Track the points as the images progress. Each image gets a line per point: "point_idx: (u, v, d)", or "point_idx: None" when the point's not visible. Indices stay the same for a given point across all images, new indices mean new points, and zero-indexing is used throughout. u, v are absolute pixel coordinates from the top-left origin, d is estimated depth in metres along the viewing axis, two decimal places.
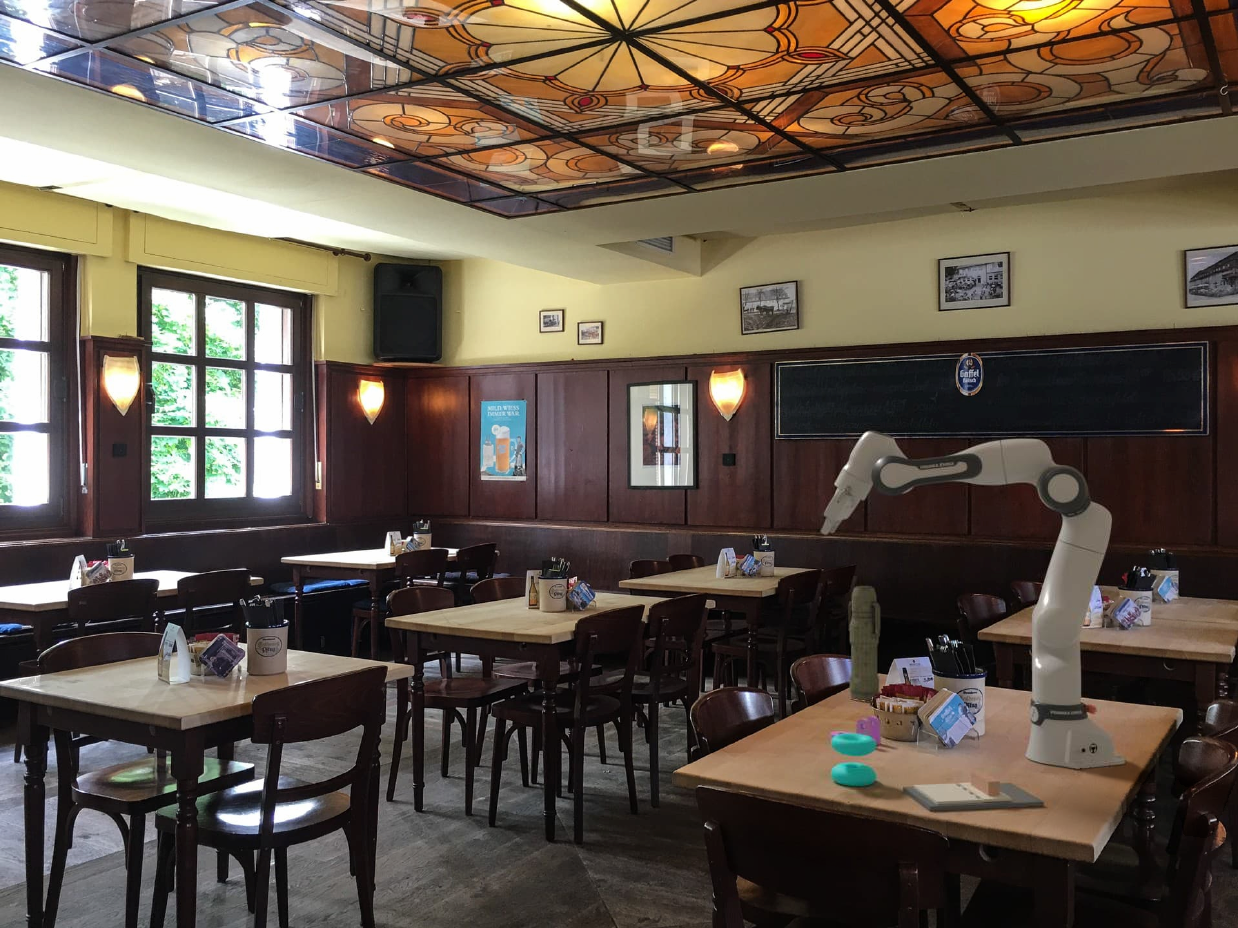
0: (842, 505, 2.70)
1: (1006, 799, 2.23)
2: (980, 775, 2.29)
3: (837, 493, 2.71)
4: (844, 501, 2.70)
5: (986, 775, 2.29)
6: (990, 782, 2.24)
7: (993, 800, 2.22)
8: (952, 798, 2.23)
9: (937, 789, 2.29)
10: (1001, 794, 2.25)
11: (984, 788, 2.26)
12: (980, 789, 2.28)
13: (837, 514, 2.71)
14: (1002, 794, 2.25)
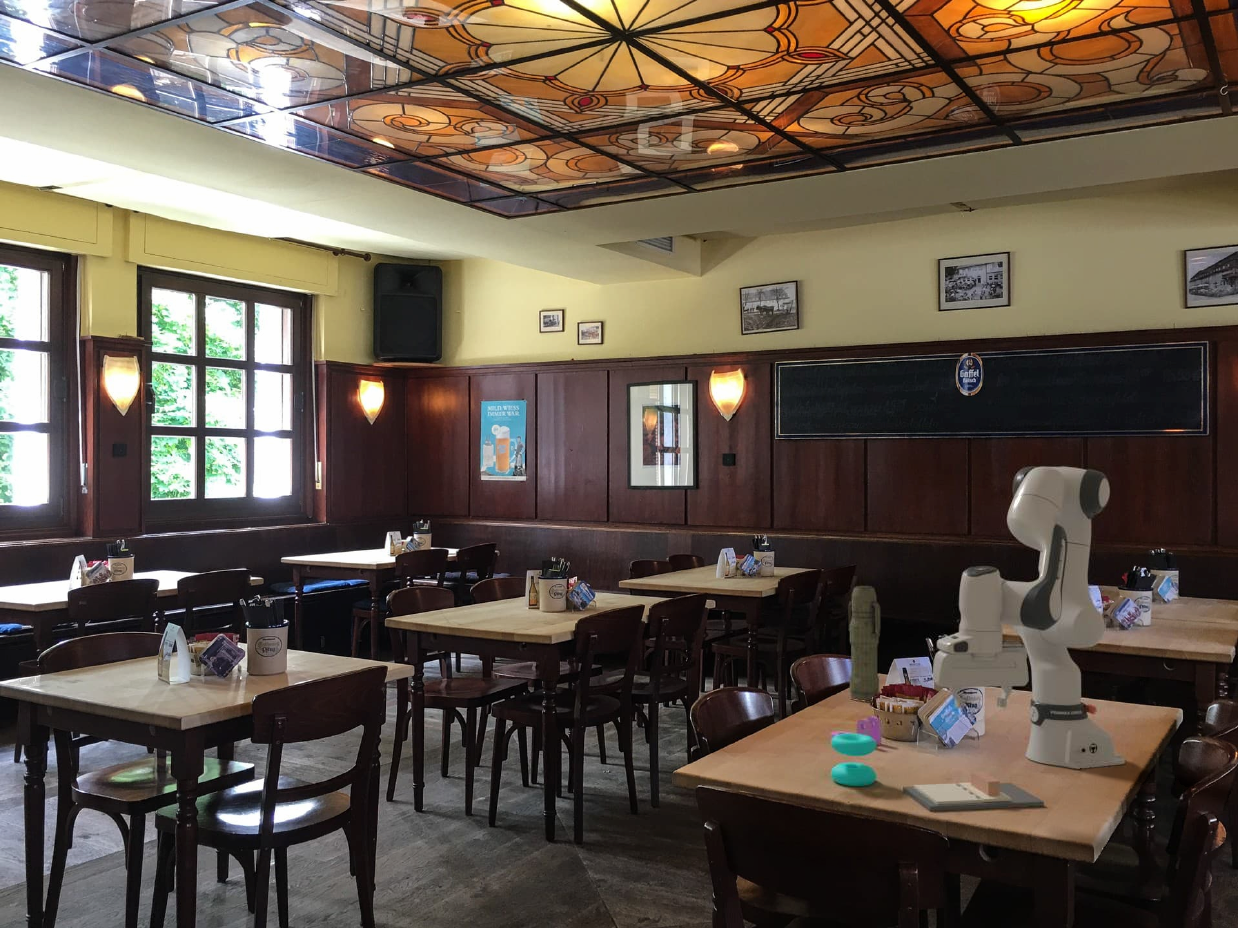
0: None
1: (1006, 799, 2.23)
2: (980, 775, 2.29)
3: (1023, 654, 2.29)
4: None
5: (986, 775, 2.29)
6: (990, 782, 2.24)
7: (993, 800, 2.22)
8: (952, 798, 2.23)
9: (937, 789, 2.29)
10: (1001, 794, 2.25)
11: (984, 788, 2.26)
12: (980, 789, 2.28)
13: None
14: (1002, 794, 2.25)
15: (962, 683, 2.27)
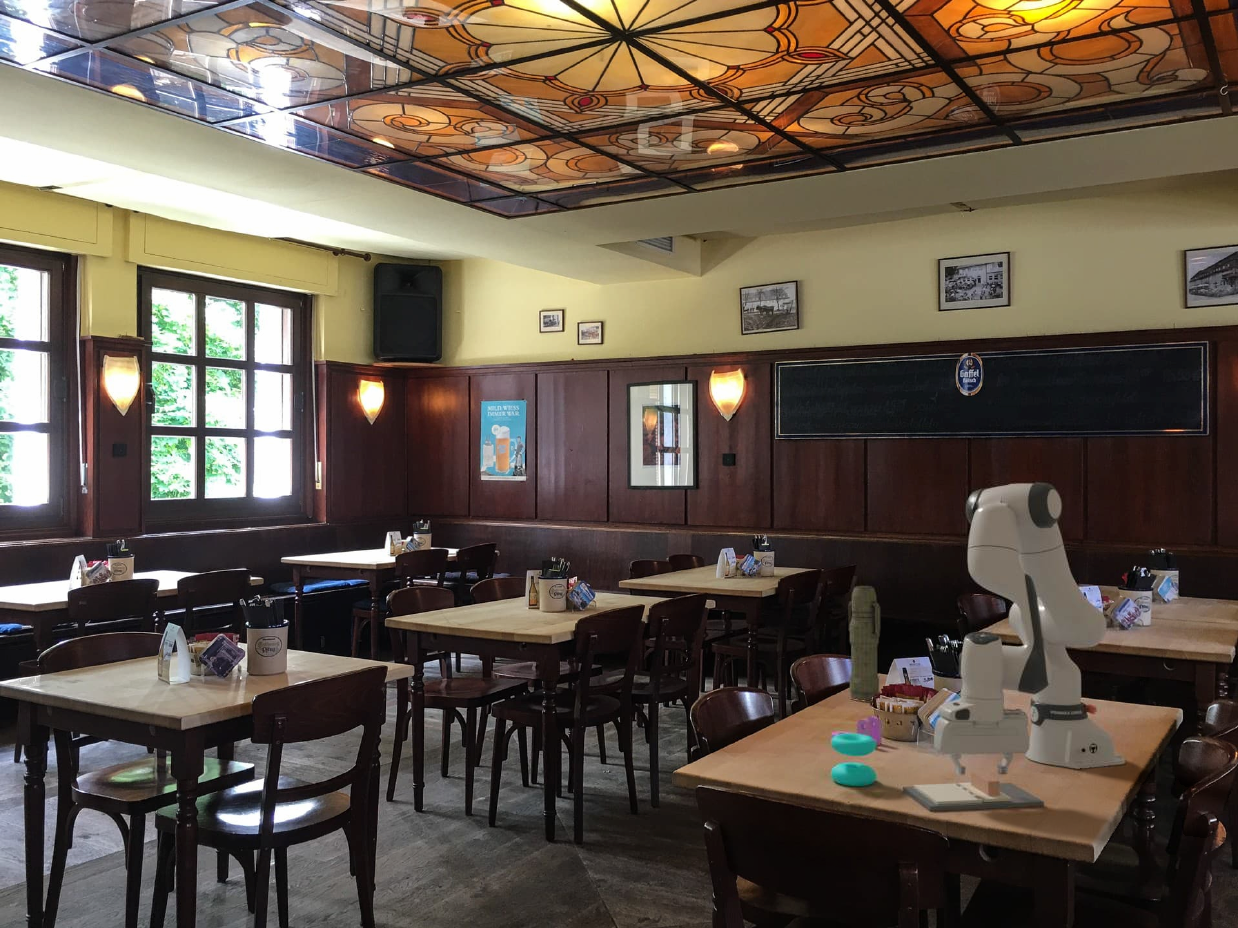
0: None
1: (1006, 799, 2.23)
2: (980, 775, 2.29)
3: (1024, 721, 2.29)
4: None
5: (986, 775, 2.29)
6: (990, 782, 2.24)
7: (993, 800, 2.22)
8: (952, 798, 2.23)
9: (937, 789, 2.29)
10: (1001, 794, 2.25)
11: (984, 788, 2.26)
12: (980, 789, 2.28)
13: None
14: (1002, 794, 2.25)
15: (963, 750, 2.26)
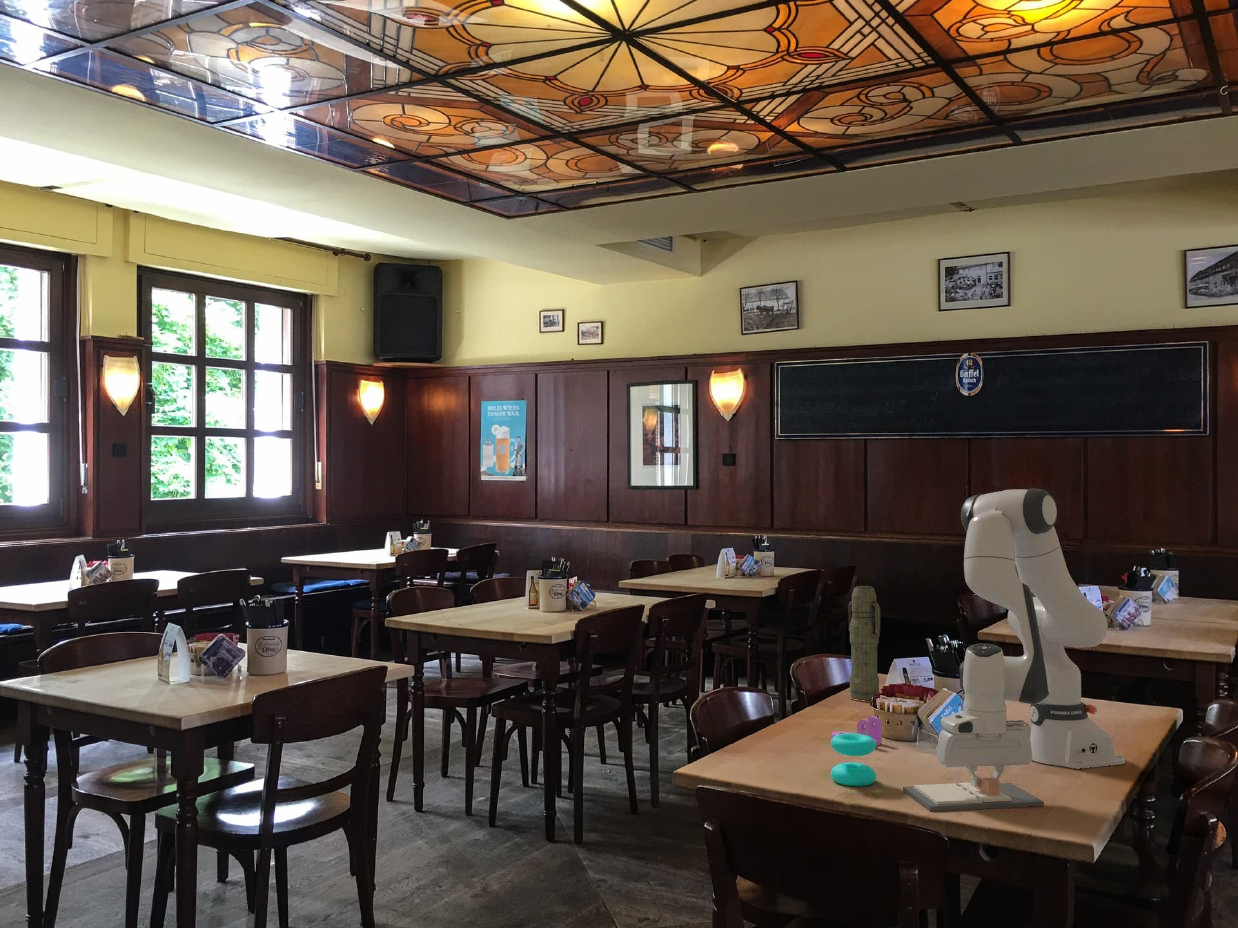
0: None
1: (1006, 799, 2.23)
2: (980, 775, 2.29)
3: (1027, 733, 2.29)
4: None
5: (986, 775, 2.29)
6: (990, 782, 2.24)
7: (993, 800, 2.22)
8: (952, 798, 2.23)
9: (937, 789, 2.29)
10: (1001, 794, 2.25)
11: (984, 788, 2.26)
12: (980, 789, 2.28)
13: None
14: (1002, 794, 2.25)
15: (967, 763, 2.26)
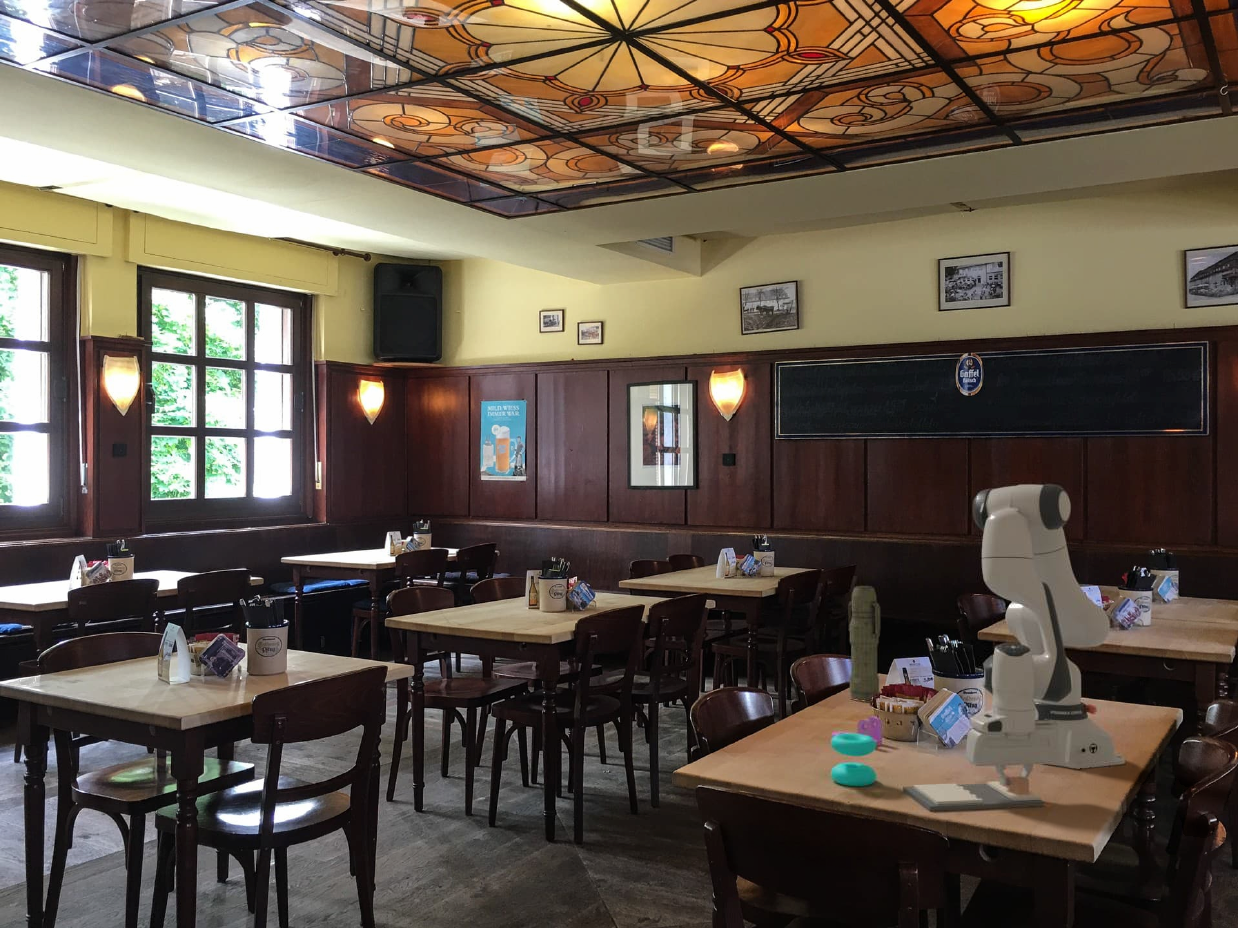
0: None
1: (1036, 798, 2.24)
2: (1009, 774, 2.30)
3: (1056, 732, 2.29)
4: None
5: (1015, 774, 2.30)
6: (1019, 781, 2.25)
7: (1023, 799, 2.23)
8: (952, 798, 2.23)
9: (937, 789, 2.29)
10: (1030, 793, 2.26)
11: (1013, 787, 2.27)
12: (1009, 788, 2.29)
13: None
14: (1031, 793, 2.26)
15: (996, 762, 2.27)
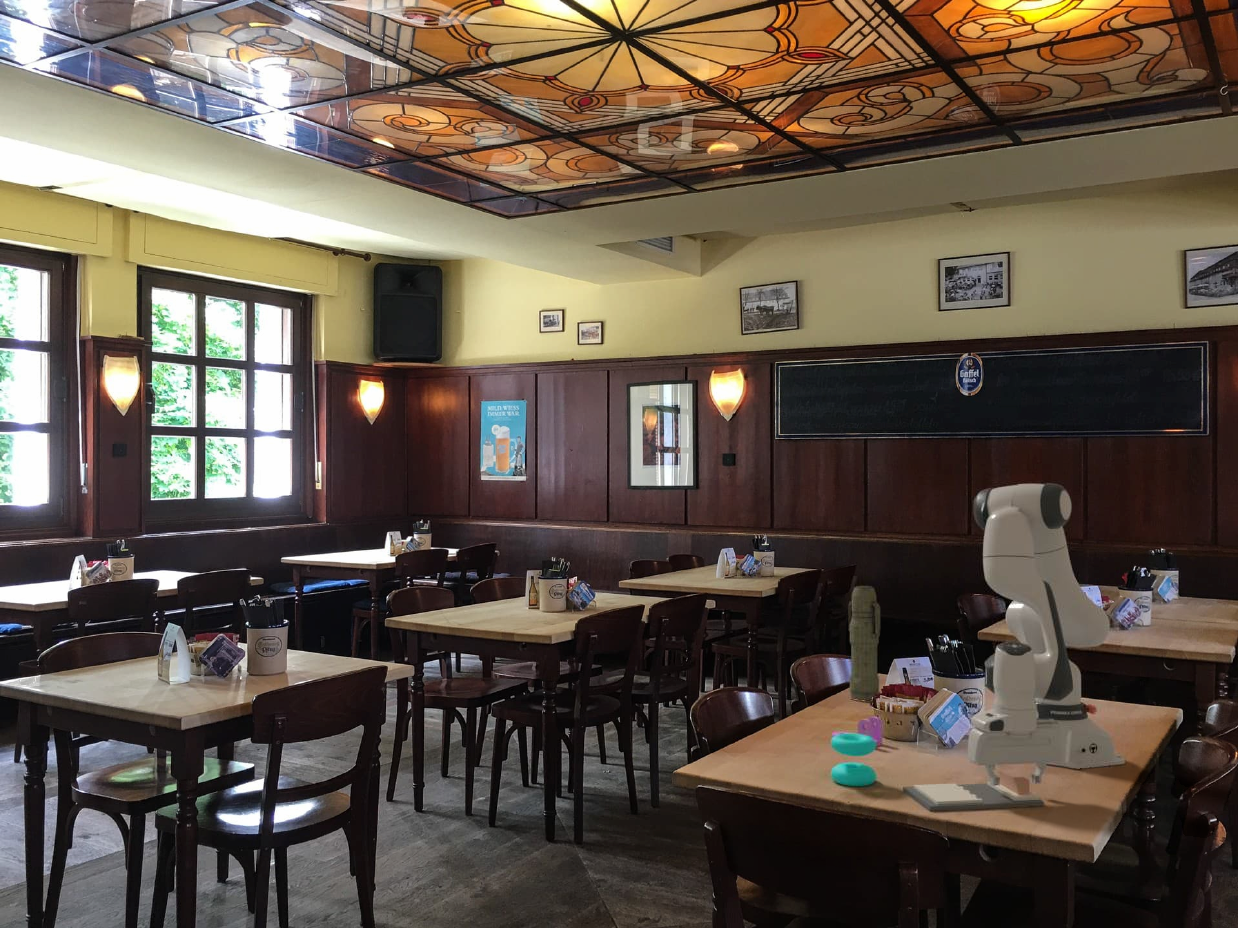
0: None
1: (1036, 798, 2.24)
2: (1009, 774, 2.30)
3: (1057, 731, 2.29)
4: None
5: (1015, 774, 2.30)
6: (1020, 781, 2.25)
7: (1023, 799, 2.23)
8: (952, 798, 2.23)
9: (937, 789, 2.29)
10: (1031, 793, 2.26)
11: (1014, 787, 2.27)
12: (1009, 788, 2.29)
13: None
14: (1032, 793, 2.26)
15: (997, 761, 2.27)
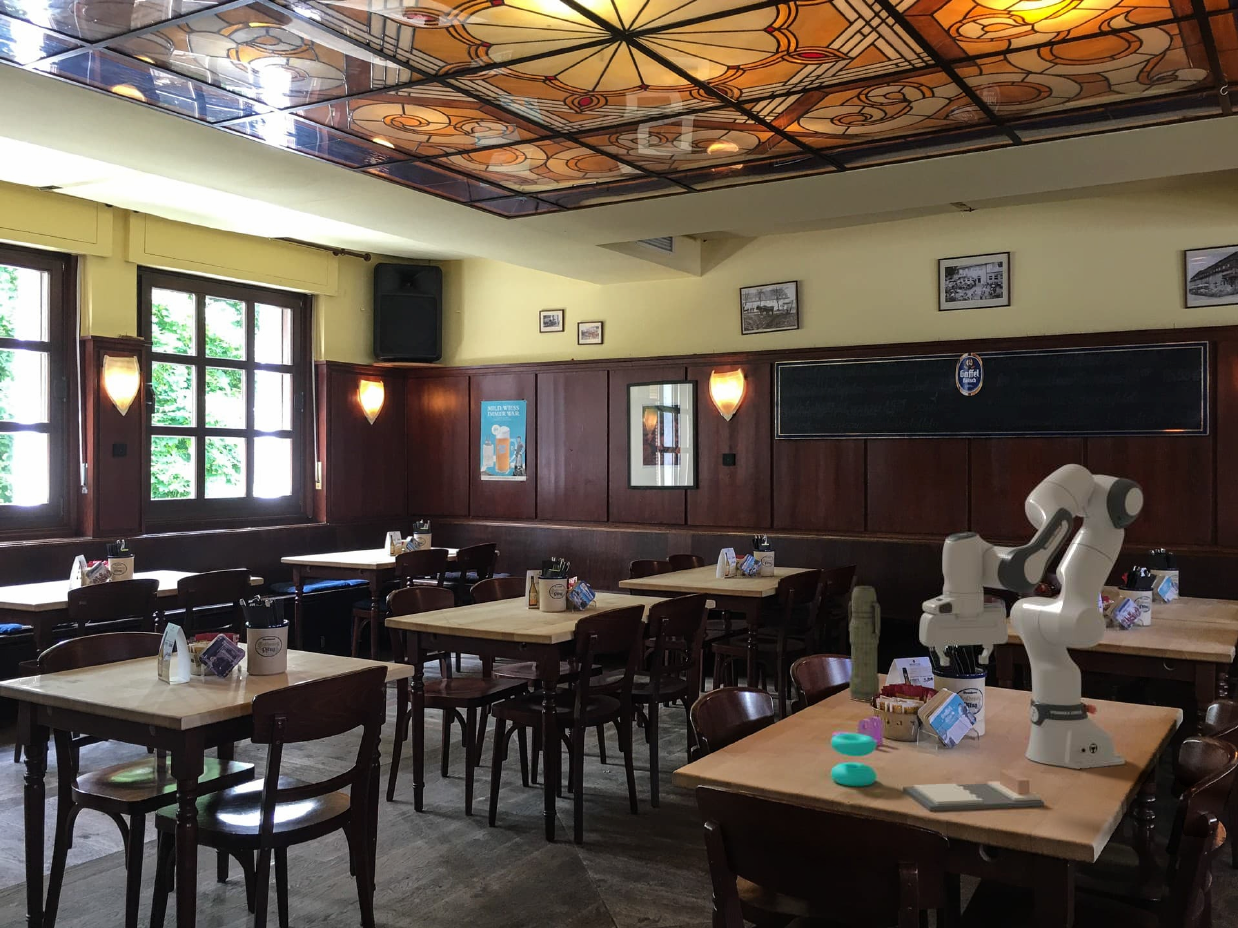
0: None
1: (1036, 798, 2.24)
2: (1009, 774, 2.30)
3: (1003, 614, 2.44)
4: None
5: (1015, 774, 2.30)
6: (1020, 781, 2.25)
7: (1023, 799, 2.23)
8: (952, 798, 2.23)
9: (937, 789, 2.29)
10: (1031, 793, 2.26)
11: (1014, 787, 2.27)
12: (1009, 788, 2.29)
13: None
14: (1032, 793, 2.26)
15: (947, 642, 2.41)
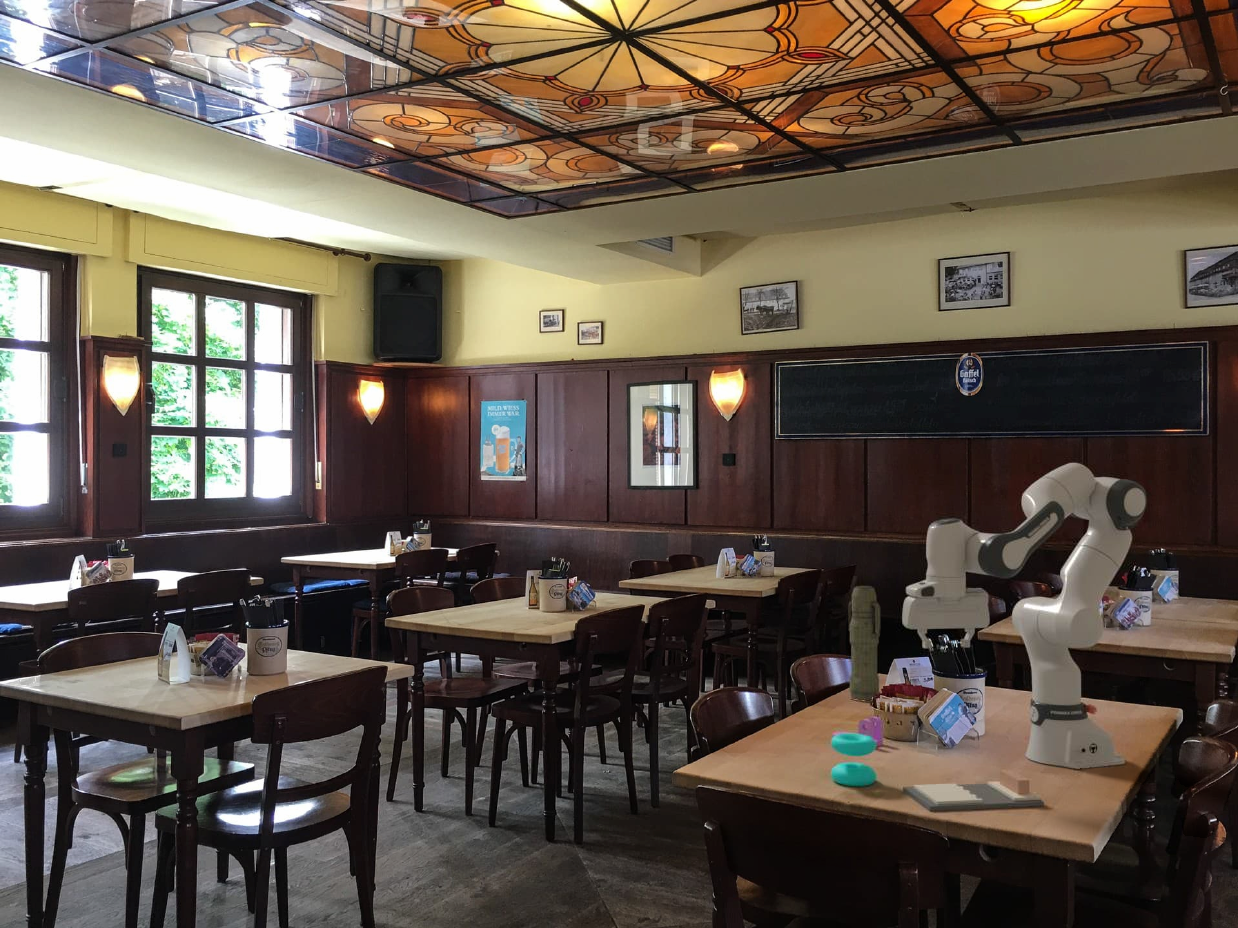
0: None
1: (1036, 798, 2.24)
2: (1009, 774, 2.30)
3: (985, 599, 2.49)
4: None
5: (1015, 774, 2.30)
6: (1020, 781, 2.25)
7: (1023, 799, 2.23)
8: (952, 798, 2.23)
9: (937, 789, 2.29)
10: (1031, 793, 2.26)
11: (1014, 787, 2.27)
12: (1009, 788, 2.29)
13: None
14: (1032, 793, 2.26)
15: (929, 625, 2.46)
